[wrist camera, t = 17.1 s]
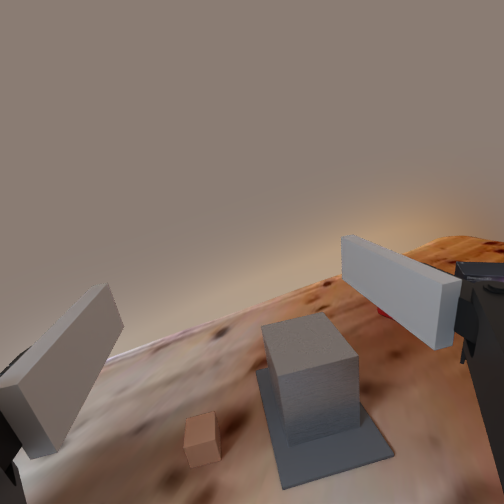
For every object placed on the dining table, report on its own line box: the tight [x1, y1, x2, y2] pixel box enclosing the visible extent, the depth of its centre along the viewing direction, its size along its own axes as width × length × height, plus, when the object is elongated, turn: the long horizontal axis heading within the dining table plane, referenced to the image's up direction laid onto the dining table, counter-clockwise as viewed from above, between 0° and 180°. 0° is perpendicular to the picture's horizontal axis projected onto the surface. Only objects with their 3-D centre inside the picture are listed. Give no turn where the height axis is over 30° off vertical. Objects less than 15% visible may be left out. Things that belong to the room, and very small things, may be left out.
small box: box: [455, 262, 504, 283], centre depth 49 cm, size 11×6×10 cm, turn 64°
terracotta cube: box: [183, 411, 221, 469], centre depth 34 cm, size 4×4×4 cm
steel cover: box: [261, 312, 360, 447], centre depth 36 cm, size 10×10×12 cm
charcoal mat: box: [256, 368, 394, 490], centre depth 38 cm, size 14×18×1 cm
